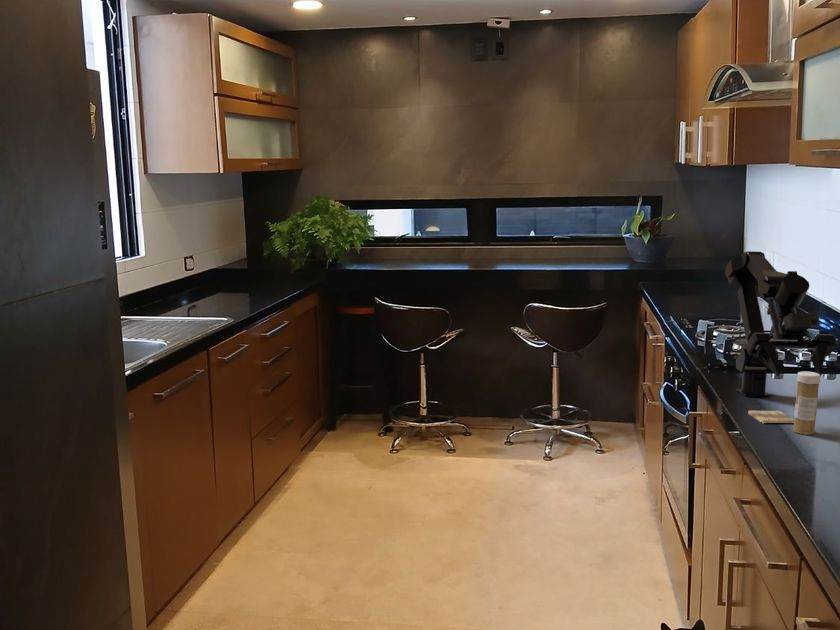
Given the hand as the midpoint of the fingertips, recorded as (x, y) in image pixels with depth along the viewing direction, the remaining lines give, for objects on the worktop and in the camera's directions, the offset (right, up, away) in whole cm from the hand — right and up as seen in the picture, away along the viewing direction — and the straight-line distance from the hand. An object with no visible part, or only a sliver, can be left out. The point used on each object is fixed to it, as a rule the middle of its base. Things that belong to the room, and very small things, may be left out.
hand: (799, 375), depth 188 cm
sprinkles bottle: (-1, -13, -3) cm, 13 cm away
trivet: (-3, -11, +7) cm, 13 cm away
